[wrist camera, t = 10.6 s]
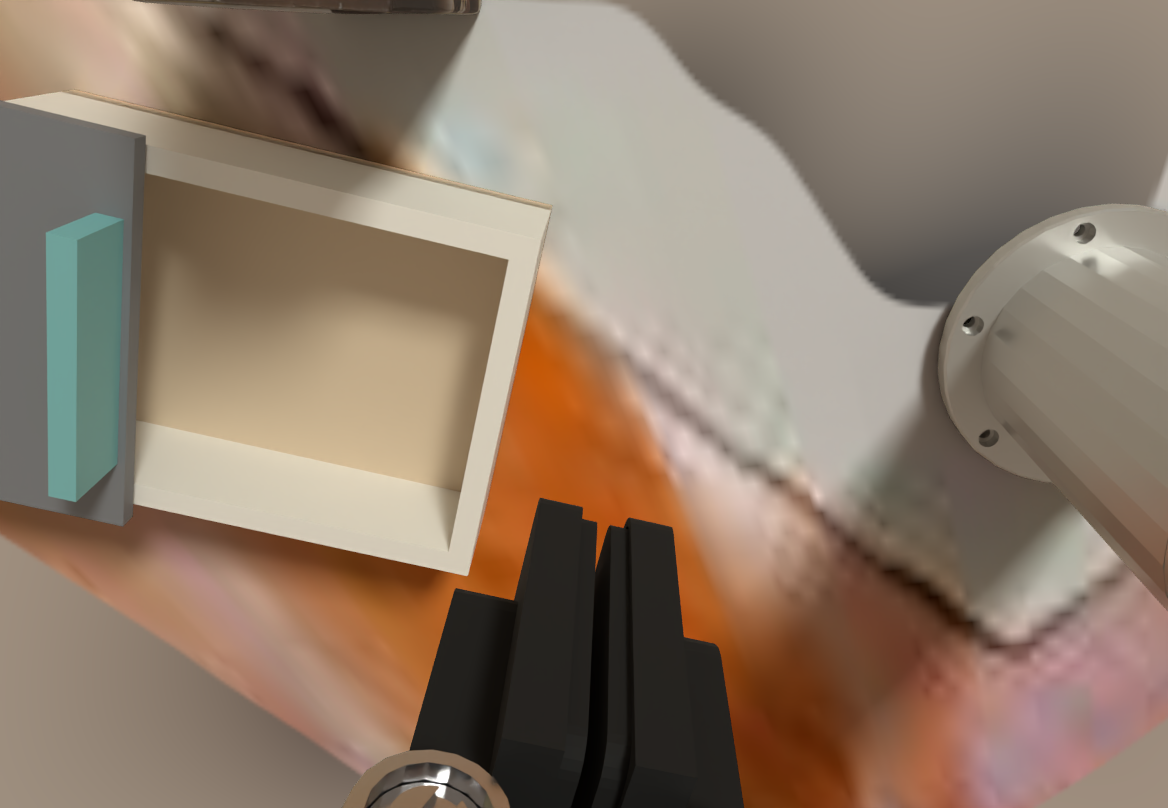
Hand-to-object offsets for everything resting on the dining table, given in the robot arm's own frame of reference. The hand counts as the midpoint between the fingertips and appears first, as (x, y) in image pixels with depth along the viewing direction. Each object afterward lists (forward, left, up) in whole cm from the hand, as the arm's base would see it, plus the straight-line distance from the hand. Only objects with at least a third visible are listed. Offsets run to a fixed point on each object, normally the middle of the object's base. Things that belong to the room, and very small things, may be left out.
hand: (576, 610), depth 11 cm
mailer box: (+12, +9, -29) cm, 33 cm away
